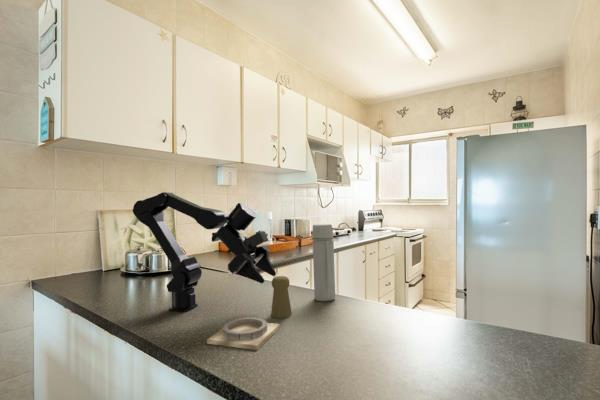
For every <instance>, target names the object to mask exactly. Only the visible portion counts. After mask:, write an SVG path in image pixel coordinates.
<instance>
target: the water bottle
mask: <svg viewBox="0 0 600 400" xmlns="http://www.w3.org/2000/svg"><path fill="white" fill-rule="evenodd" d="M311 235H312V236H311V240H312V263H313V285H314V286H313V290H314V293H313V294H314V295H313V296H314V299H315V300H316V301H319V302H331V301H333V300H335V299H336V280H335V277H336V276H335V274H336V273H335V252H334V251H335V249H334V248H335V247H334V244H335V243H334V242H335V241H336V239H335V238H334V231H333V225H332V224H331V223H330V224H329V223H328V224H327V223H322V224H320V223H317V224H313V225H312V234H311Z"/></svg>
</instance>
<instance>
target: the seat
mask: <svg viewBox="0 0 600 400" xmlns="http://www.w3.org/2000/svg"><path fill="white" fill-rule="evenodd" d="M280 328H281V324H280V323H274V322H273V323H272V322H267V320H265V319H264V318H263V319H262V318H260V317H252V316H250V317H249V316H248V317H240V318H237V319H232V320H230V321H228V322H226V323H225V324H223V327H222V328H221V329H220V330H218V331H217V332H215V333H214V334H213V335H211V336H210V337H208V338H207V339H206V344H207V345H208V344H209V345H216V346H222V347H230V348H231V347H232V348H236V349H237V348H238V349H244V350H245V349H246V350H254V351H259V349H260V348H261V347H262V346H263V345H265V343H266V342H268V340H270V339H271V337H273V336H274V335H275V333H276V332H278V331H279V330H280Z"/></svg>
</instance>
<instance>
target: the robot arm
mask: <svg viewBox="0 0 600 400" xmlns="http://www.w3.org/2000/svg"><path fill="white" fill-rule="evenodd" d="M168 208H170V209H173V210H175V211H177V212H179V213H182V214H184V215H186V216H188V217H190V218H192V219H193V220H195V221H196V223H197V224H198V225H199V226H200V227H203V228H204V229H205V230H216V229H218V230H217V231H216V232H212V233H211V235H212V236H211V242H212V243H214V242H218V241H221V243H222V244H223V245H224V246H225V247H226V248H227V249H228V250H227V251H226V252H227V253H228V255H230V254H232V255H234V257H233V258H232V259H231V260H230V262H229V263H228V264H227V269H228V271H229V272H230V273H231V274H232V275H234V274H235V275H236V276H237V275H238V276H241V277H243V278H247V279H249V280H252V281H255V282H257V283H260V284H264V283H265V281H266V280H265V278H264V277H263V275H262V274H261V273H260V272H259V270H258V269H260V270H262V271H263V272H265V273H267V274H269V275H270V276H272V277H276V275H277V273H276V270H275V269H274V266H273V265H272V263H271V261H270V250H271V249H270V247H268V245H261V244H263V243H266V242H269V239H268V236H269V235H268V233H266V231H265V230H262V229H260V230H259V231H256V232H255V233H254V234H252V235H251V236H246V235H245V236H243V234H241V233H240V231H245V230H246V229H248V227H249V226H250V225H251V224H252V222H253V221H254V220H255V219H256V218H257V214H256V212H255V211H254V210H253V209H252V208H250V207H249V206H247V205H244V203H243V202H238V203H237V204H236V205H235V206H234V208H233V209H232V211H231V212H230V214H226V213H225V212H224V211H223V210H219V209H214V208H209V207H204V206H201V205H199V204H197V203H194V202H191V201H189V200H187V199H186V198H183V197H180V196H178V195H176V194H175V193H173V192H164V191H163V192H161V193H158V194H156V195H154V196H150V197H147V198H145V199H143V200H142V199H141V200H137V201H136V202H135V203H134V205H133V208H132V213H133V215H134V216H135V217H136V219H137V220H138V221H139V222H140V223H141V224H143V225H145V226H146V227H147V228H149V230H150V231H151V233H152V234H153V237H154V238H155V240H156V241H157V243H158V245H159V246H160V248H161V250H162V251H163V253H164V254H165V256H166V258H167V259H168V261H169V263H170V267H171V268H170V269H171V270H170V271H171V272H170V273H171V276H172V278H171V280H170V281H168V283H167V284H166V289H167V292H169V293H171V307H169V308H168V311H174V312H187V311H190V310H192V309H193V308H196V307H197V306H198V303H196V293H195V287H197V286H198V283H199V281H200V280H201V277H202V273H203V272H202V265H200V264H199V262H198V261H197V258H196V257H195V256H191V257H189V256H188V255H186V254H185V252H184V251H183V249H182V248H181V246H180V244H179V242H178V241H177V239H176V238H175V236H174V235H173V233H172V232H171V230H170V228H169V227H168V225H167V223H166V222H165V219H164V215H165V213H164V211H165V210H167V209H168ZM259 245H260V246H259Z"/></svg>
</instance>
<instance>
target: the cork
mask: <svg viewBox="0 0 600 400" xmlns="http://www.w3.org/2000/svg"><path fill="white" fill-rule="evenodd" d="M271 286H272V288H273V294H272V303H271V313H270V316H271V317H272V318H274V319H287V318H289V317H291V316H292V314H293V313H292V306H291V301H290V300H291V299H290V294H289V293H290V292H289V289H288V288H289V286H290V279H289V278H288V276H284V275H278V276H273V278H272V280H271Z"/></svg>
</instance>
